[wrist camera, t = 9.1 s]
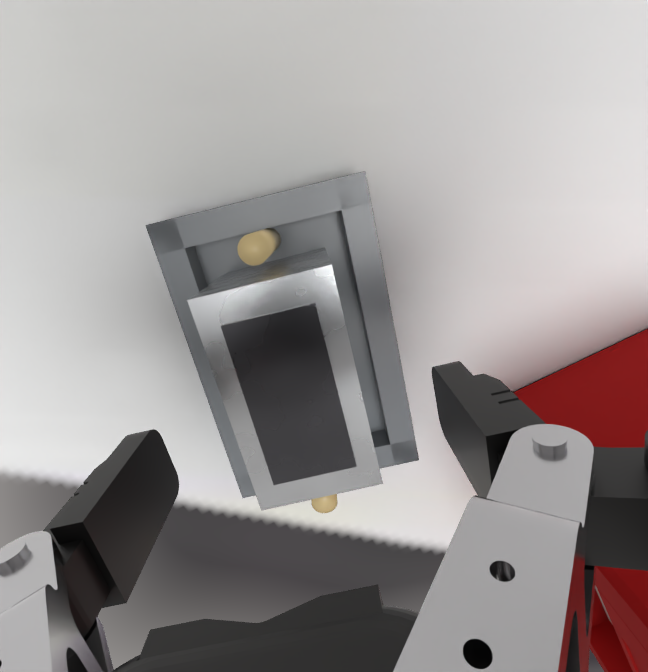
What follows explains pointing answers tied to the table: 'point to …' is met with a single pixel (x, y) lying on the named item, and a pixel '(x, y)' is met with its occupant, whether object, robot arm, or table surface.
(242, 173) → the table surface
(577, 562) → the robot arm
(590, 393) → the fire alarm
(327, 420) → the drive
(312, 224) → the tray
